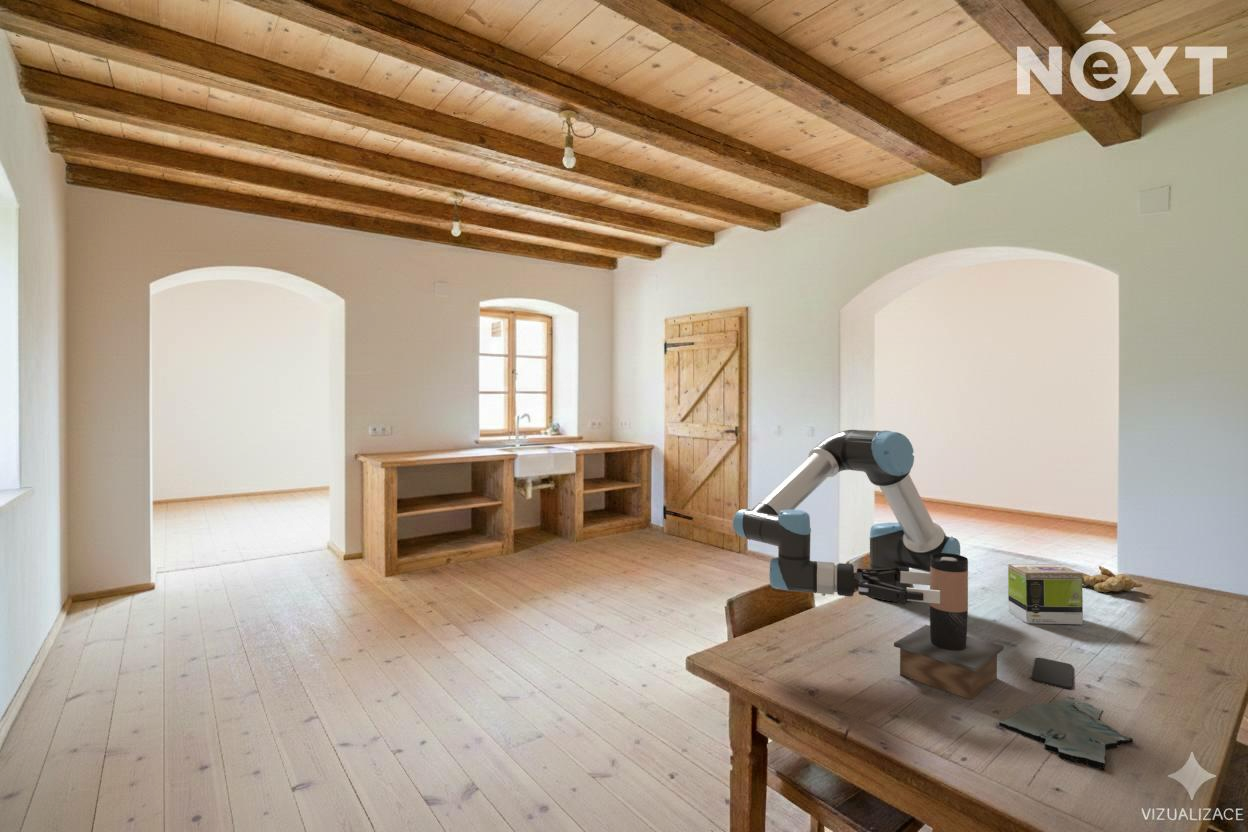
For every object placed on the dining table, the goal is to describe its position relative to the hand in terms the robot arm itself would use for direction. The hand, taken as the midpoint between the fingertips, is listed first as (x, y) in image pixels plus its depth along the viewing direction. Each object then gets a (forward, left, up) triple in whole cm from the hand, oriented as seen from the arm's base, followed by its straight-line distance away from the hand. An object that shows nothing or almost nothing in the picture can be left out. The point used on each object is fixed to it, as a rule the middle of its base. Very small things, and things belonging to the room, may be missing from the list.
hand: (935, 587), depth 137 cm
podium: (+2, +2, -20) cm, 20 cm away
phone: (+17, +22, -21) cm, 35 cm away
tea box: (+5, +61, -20) cm, 64 cm away
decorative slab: (+26, -4, -21) cm, 34 cm away
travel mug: (+2, +2, -13) cm, 13 cm away
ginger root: (+11, +107, -20) cm, 109 cm away
